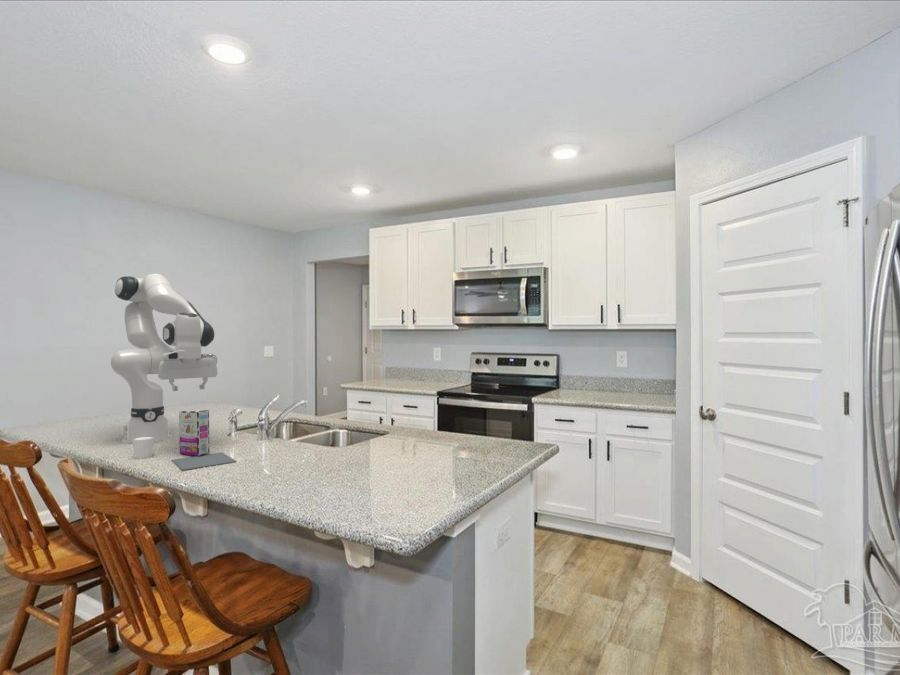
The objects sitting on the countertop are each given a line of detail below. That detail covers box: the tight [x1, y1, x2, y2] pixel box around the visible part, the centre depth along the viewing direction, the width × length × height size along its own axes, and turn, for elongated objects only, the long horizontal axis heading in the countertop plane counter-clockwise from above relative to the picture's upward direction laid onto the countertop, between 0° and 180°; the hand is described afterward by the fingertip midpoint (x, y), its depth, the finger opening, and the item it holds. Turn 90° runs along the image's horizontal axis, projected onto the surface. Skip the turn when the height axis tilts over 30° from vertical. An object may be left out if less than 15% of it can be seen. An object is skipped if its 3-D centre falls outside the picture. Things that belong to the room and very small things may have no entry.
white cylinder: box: [132, 437, 155, 459], centre depth 180 cm, size 7×7×7 cm
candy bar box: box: [178, 409, 210, 457], centre depth 183 cm, size 11×5×16 cm, turn 62°
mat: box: [171, 452, 237, 472], centre depth 173 cm, size 17×17×1 cm
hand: (188, 390), depth 189 cm, fingers open, 8 cm apart
